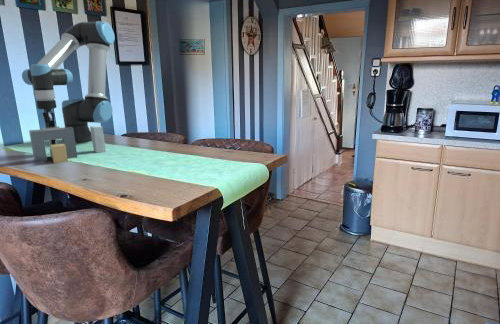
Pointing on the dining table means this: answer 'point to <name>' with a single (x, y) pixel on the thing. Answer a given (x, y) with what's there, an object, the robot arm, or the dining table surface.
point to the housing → (51, 134)
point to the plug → (58, 153)
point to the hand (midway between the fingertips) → (54, 150)
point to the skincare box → (97, 139)
